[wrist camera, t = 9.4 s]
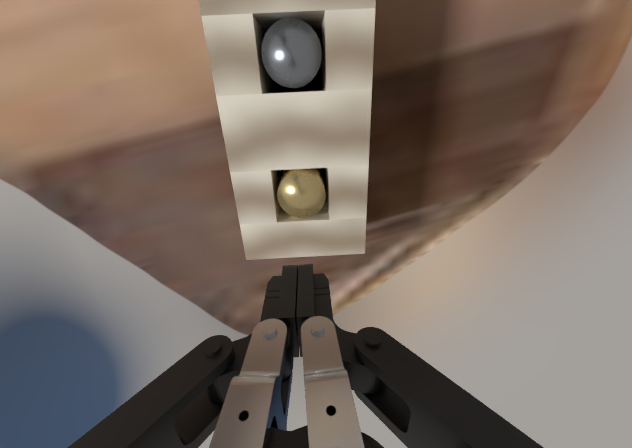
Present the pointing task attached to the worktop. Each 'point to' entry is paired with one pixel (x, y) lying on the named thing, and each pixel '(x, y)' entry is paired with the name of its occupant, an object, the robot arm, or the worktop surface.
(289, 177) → the brass peg
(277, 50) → the steel peg
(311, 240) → the ash socket block
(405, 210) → the worktop surface
